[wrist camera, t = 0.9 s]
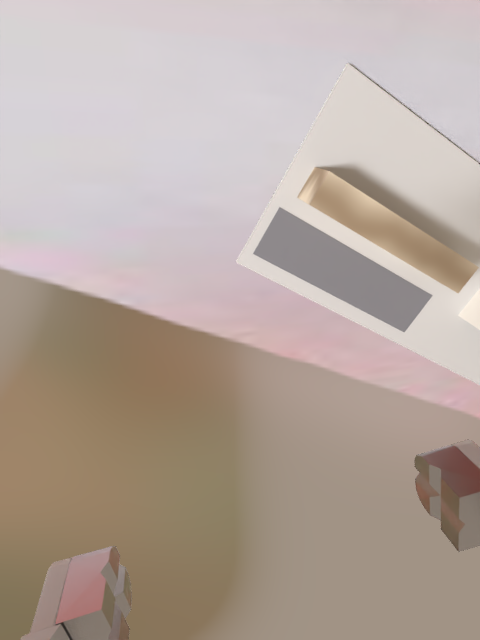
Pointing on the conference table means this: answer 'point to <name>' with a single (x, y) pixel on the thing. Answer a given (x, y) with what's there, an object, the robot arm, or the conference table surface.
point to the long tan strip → (385, 229)
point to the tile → (472, 311)
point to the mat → (361, 254)
